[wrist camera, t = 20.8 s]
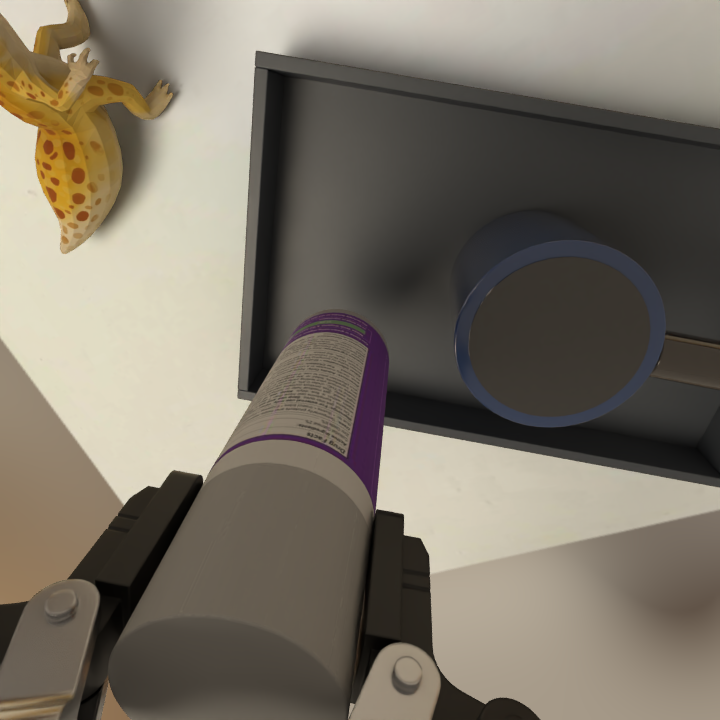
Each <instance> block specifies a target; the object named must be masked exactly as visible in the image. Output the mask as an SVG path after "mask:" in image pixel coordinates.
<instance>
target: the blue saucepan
mask: <svg viewBox="0 0 720 720" xmlns="http://www.w3.org/2000/svg"><path fill="white" fill-rule="evenodd" d="M449 297H450V309H451V321H452V333H453V346H454V355H455V360H456V364H457V368H458V371H459V373H460V375H461V378H462V380H463V381H464V383H465V385H466V386H467V388H468V389H469V391H470V392H471V393H472V394H473V396H474V397H475V398H476V399H477V400H478V401H479V402H480V403H481V404H483V405H484V406H485V407H487V408H488V409H489V410H491V411H492V412H494V413H496V414H497V415H499V416H501V417H503V418H505V419H508V420H510V421H513V422H516V423H520V424H524V425H528V426H535V427H565V426H570V425H576V424H580V423H583V422H587V421H590V420H593V419H595V418H597V417H600V416H602V415H604V414H606V413H608V412H610V411H612V410H614V409H615V408H617V407H618V406H619V405H621V404H622V403H624V402H625V401H626V400H628V399H629V398H630V397H631V396H632V395H633V394H635V393H636V391H637V390H638V389H639V388H640V387H641V386H642V385H643V384H644V383H645V381H646V380H647V378H648V377H652V378H657V379H662V380H667V381H673V382H678V383H683V384H688V385H693V386H698V387H703V388H708V389H713V390H718V391H720V340H716V339H711V338H706V337H700V336H695V335H690V334H685V333H679V332H674V331H669V330H666V315H665V308H664V304H663V300H662V297H661V295H660V293H659V290H658V288H657V286H656V284H655V283H654V281H653V280H652V278H651V277H650V275H649V274H648V273H647V272H646V271H645V270H644V269H643V267H642V266H641V265H639V264H638V263H637V262H636V261H634V260H633V259H632V258H631V257H629V256H628V255H626V254H624V253H623V252H621V251H620V250H618V249H616V248H615V247H613V246H612V245H610V244H609V243H607V242H605V241H604V240H602V239H601V238H599V237H597V236H596V235H594V234H593V233H591V232H589V231H588V230H586V229H585V228H583V227H581V226H580V225H578V224H577V223H575V222H573V221H572V220H570V219H568V218H566V217H564V216H561V215H559V214H556V213H552V212H548V211H539V210H526V211H519V212H514V213H511V214H507V215H504V216H502V217H499V218H497V219H495V220H493V221H491V222H490V223H488V224H486V225H485V226H483V227H482V228H481V229H479V230H478V231H477V232H476V233H475V234H474V235H473V236H472V237H471V238H470V239H469V240H468V241H467V242H466V244H465V245H464V246H463V247H462V249H461V251H460V252H459V254H458V256H457V258H456V260H455V262H454V265H453V268H452V271H451V276H450V281H449Z"/></svg>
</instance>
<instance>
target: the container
mask: <svg viewBox="0 0 720 720" xmlns="http://www.w3.org/2000/svg"><path fill="white" fill-rule="evenodd" d="M388 372H389V350H388V346H387V343H386V341H385V339H384V337H383V335H382V333H381V332H380V330H379V329H378V328H377V327H376V326H375V325H374V324H373V323H372V322H371V321H369V320H368V319H367V318H365V317H364V316H362V315H360V314H357V313H355V312H352V311H348V310H343V309H329V310H323V311H320V312H317V313H314V314H312V315H310V316H309V317H307V318H306V319H305V320H303V321H302V322H301V323H300V324H299V325H298V326H297V328H296V329H295V331H294V332H293V333H292V335H291V337H290V338H289V340H288V342H287V343H286V345H285V347H284V348H283V350H282V352H281V353H280V355H279V357H278V358H277V360H276V362H275V363H274V365H273V367H272V368H271V370H270V372H269V373H268V375H267V377H266V378H265V380H264V382H263V383H262V385H261V387H260V388H259V390H258V392H257V393H256V395H255V397H254V398H253V400H252V402H251V403H250V405H249V407H248V409H247V410H246V412H245V414H244V415H243V417H242V419H241V420H240V422H239V424H238V425H237V427H236V429H235V430H234V432H233V434H232V435H231V437H230V439H229V440H228V442H227V444H226V445H225V447H224V449H223V450H222V452H221V454H220V455H219V457H218V459H217V460H216V462H215V464H214V465H213V467H212V469H211V470H210V472H209V474H208V476H207V478H206V480H205V482H204V484H203V485H202V487H201V489H200V491H199V493H198V495H197V496H196V498H195V500H194V502H193V504H192V506H191V507H190V509H189V511H188V513H187V515H186V517H185V518H184V520H183V522H182V524H181V526H180V528H179V529H178V531H177V533H176V535H175V537H174V539H173V540H172V542H171V544H170V546H169V548H168V550H167V551H166V553H165V555H164V557H163V559H162V560H161V562H160V564H159V566H158V568H157V570H156V571H155V573H154V575H153V577H152V579H151V581H150V582H149V584H148V586H147V588H146V590H145V592H144V593H143V595H142V597H141V599H140V601H139V603H138V604H137V606H136V608H135V610H134V612H133V613H132V615H131V617H130V619H129V621H128V623H127V624H126V626H125V628H124V630H123V632H122V634H121V635H120V637H119V639H118V641H117V643H116V645H115V646H114V648H113V650H112V653H111V655H110V658H109V663H108V679H109V683H110V687H111V690H112V692H113V695H114V697H115V699H116V700H117V702H118V703H119V705H120V707H121V708H122V709H123V711H124V712H125V713H126V714H127V715H128V717H129V718H130V719H132V720H348V714H349V706H350V699H351V692H352V684H353V677H354V669H355V662H356V654H357V647H358V639H359V631H360V624H361V616H362V609H363V601H364V594H365V586H366V579H367V571H368V564H369V556H370V548H371V540H372V532H373V523H374V518H375V510H376V500H377V489H378V478H379V468H380V457H381V447H382V436H383V425H384V415H385V404H386V393H387V383H388Z"/></svg>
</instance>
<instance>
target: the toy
mask: <svg viewBox="0 0 720 720" xmlns="http://www.w3.org/2000/svg"><path fill="white" fill-rule="evenodd" d="M64 2H65V4H66V7H67V9H68V18H67V22H66V23H64V24H55V25H47V26H43V27H40V28H39V30H38V31H37V35H36V40H35V45H34V51H33V52H31V51H29V50H28V49H27V47H26V46H25V45H24V43H23V42H22V41H21V39H20V38H19V36H18V35H17V34H16V32H15V31H14V30H13V28H12V27H11V25H10V24H9V23H8V21H7V20H6V19H5V18H4V17H3V16H2V15H1V14H0V105H1V106H2V107H4V108H5V109H6V110H7V111H9V112H10V113H11V114H13V115H14V116H16V117H18V118H19V119H21V120H22V121H24V122H26V123H29V124H32V125H34V126H37V127H39V128H38V134H37V143H36V153H35V162H36V169H37V176H38V179H39V181H40V184H41V187H42V189H43V192H44V194H45V196H46V198H47V199H48V201H49V203H50V205H51V207H52V208H53V210H54V212H55V214H56V216H57V218H58V220H59V224H60V228H61V243H60V250H61V252H62V253H63V254H67V253H68V252H70V251H72V250H74V249H75V248H77V247H78V246H79V245H81V244H82V243H84V242H85V241H86V240H87V239H88V238H89V237H90V236H91V235H92V234H93V233H94V232H95V231H96V230H97V228H98V227H99V226H100V225H101V223H102V222H103V220H104V219H105V217H106V216H107V215H108V213H109V212H110V210H111V208H112V206H113V205H114V202H115V200H116V197H117V195H118V192H119V190H120V188H121V181H122V173H123V164H122V155H121V149H120V146H119V142H118V139H117V136H116V132H115V129H114V127H113V124H112V122H111V120H110V118H109V115H108V113H107V110H106V108H105V107H104V104H109V103H116V102H122V104H123V105H124V106H125V107H126V108H127V109H128V110H129V111H130V112H131V113H132V114H133V115H135V116H137V117H139V118H141V119H143V120H153V119H155V118H156V117H158V116H159V115H160V114H161V113H162V112H163V110H164V109H165V108H166V106H167V105H168V103H169V101H170V100H171V98H172V96H173V93H169V94H168V95H167V90H168V87H169V84H166V85H165V86H163V87H162V88H161V85H162V80H159V81H158V83H157V84H156V86H155V87H154V89H153V90H152V91H151V92H150V94H149V95H148V96H147V97H146V98H145V99H144V98H143V97H142V96H141V94H140V93H139V91H138V90H137V89H136V88H135V87H134V86H133V85H132V84H129V83H127V82H123V81H119V80H116V79H112V78H109V77H104V76H97V75H93V73H94V70H95V68H96V66H97V65H98V63H99V61H98V60H95V59H93V60H92V61H91V62H90V63H88V62H87V57H88V54H89V52H90V48H86V49H84V50H83V52H82V53H81V54H80V56H79V59H78V61H77V62H76V63H75V62H74V59H73V58H74V57H75V56H76V54H75V53H72V54H70V55H68V56H67V59H68V64H67V63H65V62H62V60H61V56H60V50H59V49H66V48H71V47H75V46H77V45H79V44H82V43H83V42H85V41H86V40H87V39H88V38H89V36H90V28H89V23H88V19H87V17H86V15H85V13H84V11H83V9H82V7H81V6H80V4H79V2H78V0H64Z"/></svg>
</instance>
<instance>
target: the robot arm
mask: <svg viewBox="0 0 720 720" xmlns="http://www.w3.org/2000/svg"><path fill="white" fill-rule="evenodd" d="M202 485H203V477H202V476H201V475H196V474H191V473H186V472H181V471H175V470H174V471H172V472H171V473H170V474H169V476H168V477H167V478H166V480H165V481H164V483H163V484H162V485H161V487H160V488H156V487H151V486H148V487H146V488H145V489H143V490H141V491H140V492H138V493H137V494H135V495H134V496H132V497H131V498H130V499H129V500H128V501H127V503H126V504H125V505H124V507H123V508H122V509H121V511H120V512H119V513H118V516H116V517H115V518H114V520H113V521H112V522H111V524H110V525H109V527H108V529H106V530H105V531H104V533H103V534H102V535H101V536H100V538H99V539H98V540H97V542H96V543H95V544H94V546H93V547H92V548H91V550H90V551H89V552H88V553H87V555H86V556H85V557H84V559H83V560H82V561H81V562H80V564H79V565H78V566H77V568H76V569H75V570H74V571H73V573H72V574H71V575H70V577H69V578H68V579H67V580H63V581H59V582H56V583H54V584H51V585H49V586H47V587H45V588H44V589H42V590H41V591H39V592H38V593H37V594H36V595H34V596H33V597H32V599H31V600H30V601H26V602H21V603H12V604H3V605H0V720H101V716H102V711H103V706H104V701H105V697H106V692H107V687H108V681H109V679H108V663H109V658H110V655H111V653H112V650H113V648H114V646H115V645H116V643H117V641H118V639H119V637H120V635H121V634H122V632H123V630H124V628H125V626H126V624H127V623H128V621H129V619H130V617H131V615H132V613H133V612H134V610H135V608H136V606H137V604H138V603H139V601H140V599H141V597H142V595H143V593H144V592H145V590H146V588H147V586H148V584H149V582H150V581H151V579H152V577H153V575H154V573H155V571H156V570H157V568H158V566H159V564H160V562H161V560H162V559H163V557H164V555H165V553H166V551H167V550H168V548H169V546H170V544H171V542H172V540H173V539H174V537H175V535H176V533H177V531H178V529H179V528H180V526H181V524H182V522H183V520H184V518H185V517H186V515H187V513H188V511H189V509H190V507H191V506H192V504H193V502H194V500H195V498H196V496H197V495H198V493H199V491H200V489H201V487H202ZM429 575H430V566H429V554H428V552H427V550H426V548H425V546H424V544H423V542H422V540H421V539H420V538H415V537H410V536H405V535H404V515H403V514H399V513H394V512H389V511H383V510H378V509H377V510H376V513H375V518H374V523H373V532H372V540H371V548H370V556H369V564H368V571H367V579H366V586H365V594H364V601H363V609H362V616H361V624H360V631H359V639H358V647H357V654H356V662H355V669H354V677H353V684H352V692H351V699H350V703H353V704H355V706H354V708H353V710H352V713H351V715H350V717H349V719H348V720H540V719H539V718H538V717H537V716H536V714H534V712H533V711H531V710H530V709H529V708H528V707H526V706H525V705H523V704H522V703H520V702H518V701H516V700H513V699H509V698H496V699H493V700H491V701H489V702H488V703H487V704H484V703H482V702H480V701H478V700H476V699H475V698H473V697H471V696H469V695H467V694H466V693H464V692H462V691H461V690H459V689H457V688H456V687H455V686H453V685H452V684H451V683H450V682H449V681H448V680H447V679H446V678H445V676H444V675H443V674H442V672H441V671H440V669H439V667H438V666H437V664H436V661H435V658H434V655H433V646H432V621H431V593H430V577H429Z"/></svg>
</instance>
